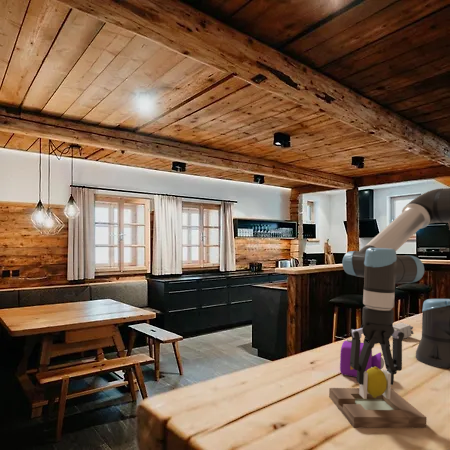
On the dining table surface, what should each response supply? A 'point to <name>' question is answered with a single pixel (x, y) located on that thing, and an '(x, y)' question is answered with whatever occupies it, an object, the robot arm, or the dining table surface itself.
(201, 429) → the dining table surface
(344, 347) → the toy camera
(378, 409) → the pocket board
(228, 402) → the dining table surface
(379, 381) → the lemon
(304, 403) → the dining table surface
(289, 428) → the dining table surface
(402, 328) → the electrical component
